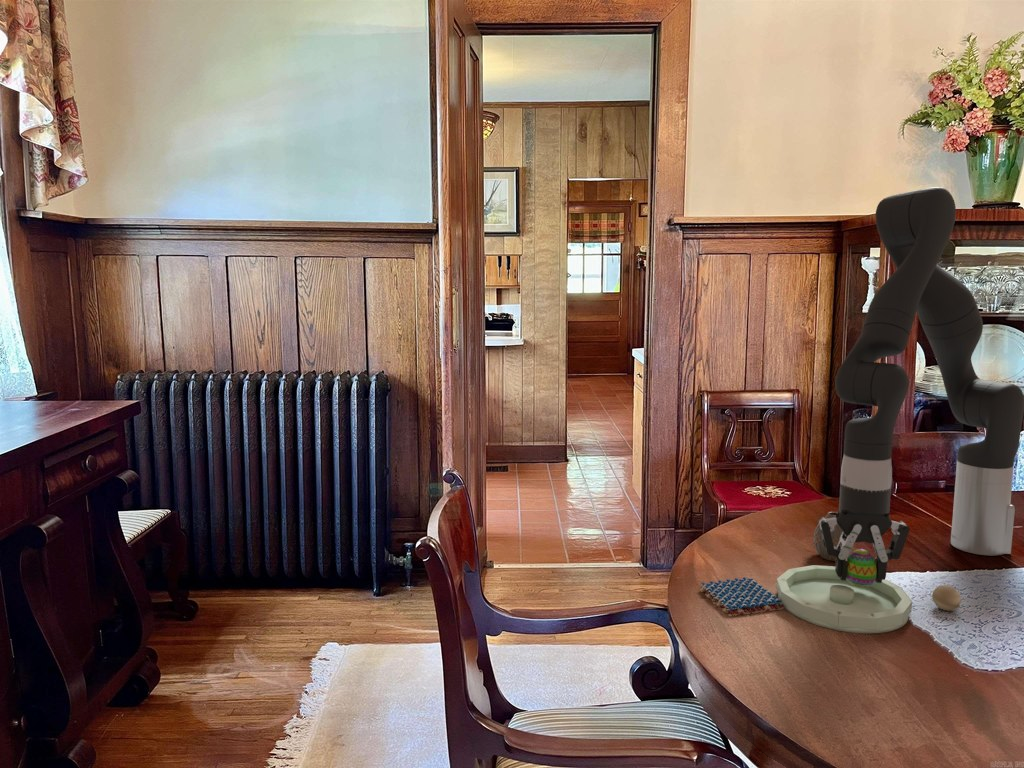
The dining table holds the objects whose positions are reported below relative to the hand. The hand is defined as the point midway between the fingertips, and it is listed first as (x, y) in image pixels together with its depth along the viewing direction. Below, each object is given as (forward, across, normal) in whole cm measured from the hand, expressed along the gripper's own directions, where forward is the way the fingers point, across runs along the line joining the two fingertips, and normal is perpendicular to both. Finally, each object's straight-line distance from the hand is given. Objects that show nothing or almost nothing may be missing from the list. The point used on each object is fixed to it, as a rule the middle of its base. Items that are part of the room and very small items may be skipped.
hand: (859, 579), depth 121 cm
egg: (+1, 0, 0) cm, 1 cm away
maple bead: (+3, -12, +3) cm, 13 cm away
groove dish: (+3, +4, +4) cm, 6 cm away
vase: (+3, +1, -17) cm, 18 cm away
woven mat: (+4, +20, +5) cm, 21 cm away
